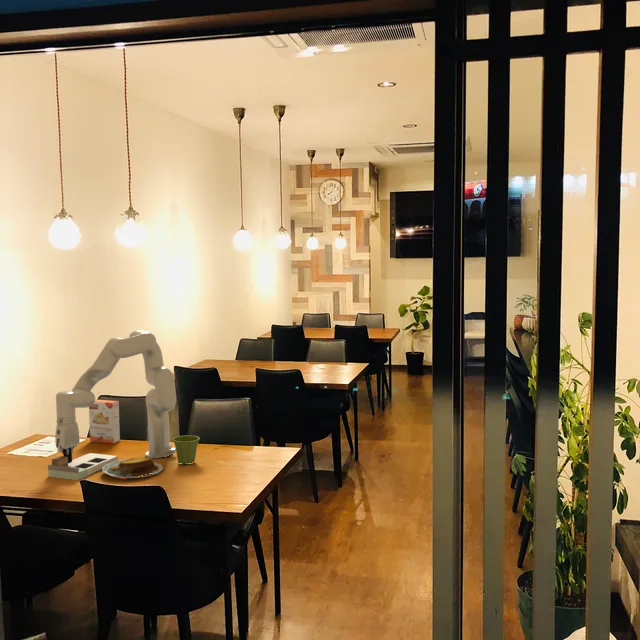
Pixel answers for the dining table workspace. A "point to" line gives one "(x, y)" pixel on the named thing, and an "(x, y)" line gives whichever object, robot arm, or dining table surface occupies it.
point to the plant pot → (186, 448)
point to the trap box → (81, 466)
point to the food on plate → (132, 468)
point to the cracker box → (104, 421)
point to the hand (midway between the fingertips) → (67, 462)
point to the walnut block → (60, 461)
